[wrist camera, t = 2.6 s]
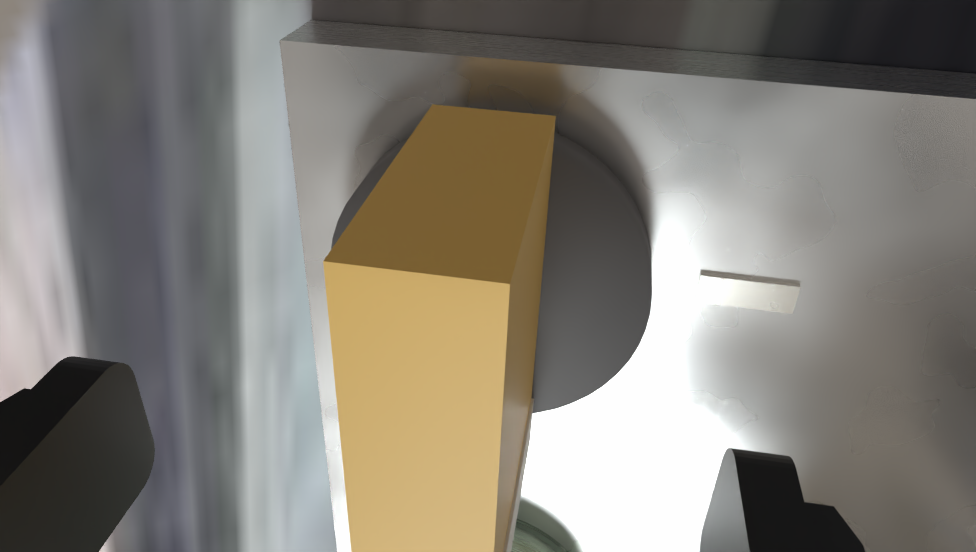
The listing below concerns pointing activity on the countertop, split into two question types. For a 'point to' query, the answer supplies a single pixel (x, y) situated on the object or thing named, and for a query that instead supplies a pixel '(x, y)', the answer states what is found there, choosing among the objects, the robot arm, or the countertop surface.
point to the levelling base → (708, 271)
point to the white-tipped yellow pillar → (473, 319)
